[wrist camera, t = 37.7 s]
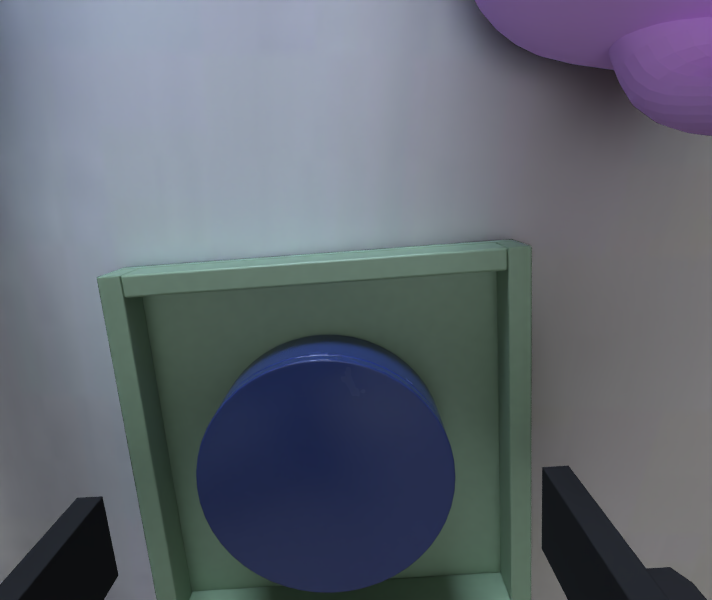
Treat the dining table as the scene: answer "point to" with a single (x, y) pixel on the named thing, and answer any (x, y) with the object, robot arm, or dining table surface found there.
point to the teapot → (625, 48)
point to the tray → (347, 318)
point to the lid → (326, 466)
